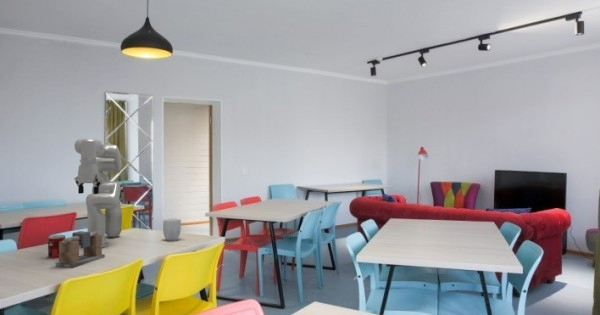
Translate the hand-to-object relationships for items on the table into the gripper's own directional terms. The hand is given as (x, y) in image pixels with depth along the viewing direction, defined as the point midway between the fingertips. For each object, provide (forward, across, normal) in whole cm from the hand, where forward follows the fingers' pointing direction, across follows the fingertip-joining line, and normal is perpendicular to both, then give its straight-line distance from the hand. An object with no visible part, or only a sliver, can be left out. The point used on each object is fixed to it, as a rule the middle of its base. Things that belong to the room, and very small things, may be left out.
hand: (88, 193), depth 228 cm
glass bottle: (+34, -19, +44) cm, 58 cm away
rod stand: (+33, +7, -13) cm, 36 cm away
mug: (+34, +22, +48) cm, 63 cm away
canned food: (+34, -13, -8) cm, 37 cm away
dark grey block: (+26, +7, -13) cm, 30 cm away
